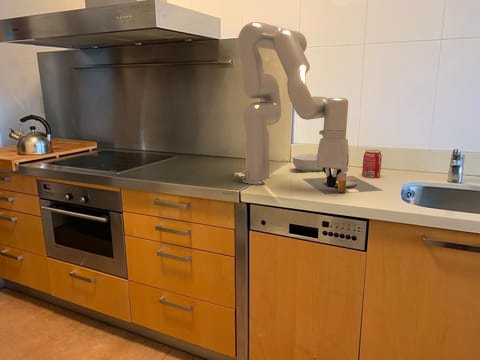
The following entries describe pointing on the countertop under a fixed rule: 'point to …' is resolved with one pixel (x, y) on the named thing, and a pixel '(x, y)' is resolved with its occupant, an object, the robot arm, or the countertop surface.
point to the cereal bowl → (306, 162)
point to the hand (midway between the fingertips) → (331, 186)
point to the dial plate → (324, 188)
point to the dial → (343, 182)
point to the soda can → (372, 164)
